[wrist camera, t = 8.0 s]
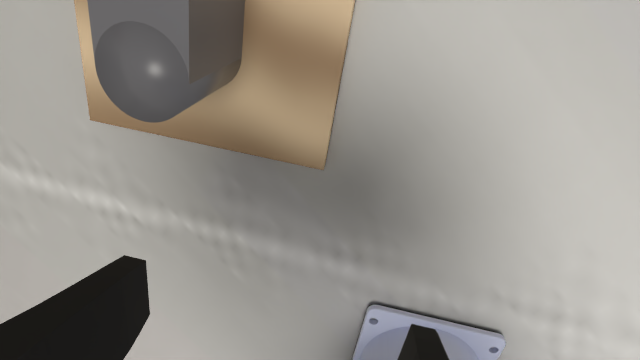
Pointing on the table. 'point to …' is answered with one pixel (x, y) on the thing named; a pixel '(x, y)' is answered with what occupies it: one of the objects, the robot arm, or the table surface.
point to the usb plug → (165, 52)
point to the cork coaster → (257, 84)
